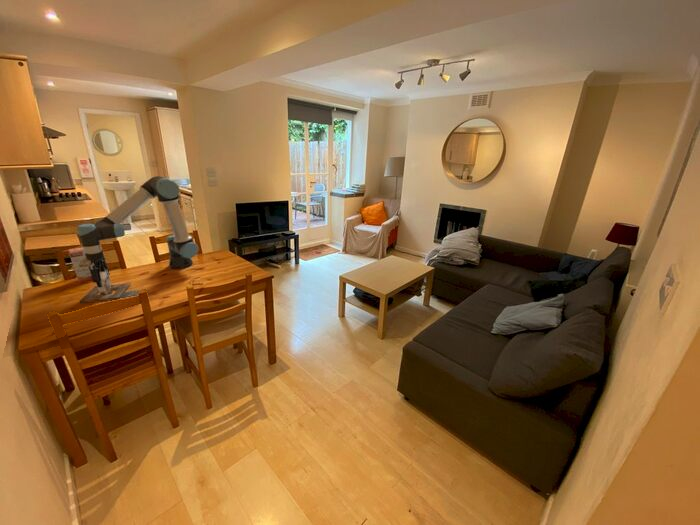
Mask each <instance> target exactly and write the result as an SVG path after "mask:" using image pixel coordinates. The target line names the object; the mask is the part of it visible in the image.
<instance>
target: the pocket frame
mask: <svg viewBox="0 0 700 525" xmlns="http://www.w3.org/2000/svg"><path fill="white" fill-rule="evenodd" d="M130 286H131V283H130V282H129V283H120V284H119V283H118V284H111V289H112V290H115V291H114V292H113V294H111V295H104V296H100V295H98V294H100V292H99V290H98V287H97V285H96V286H93V287H92V288H91V289H90V290H89V291H88V292H87V293H86V294H85V295H84V296H83V297H81V299H80V300H79V303H80V304H87V303H86V302H88V303H95V302H94V301H98V302H103V301H102V300H106V301H108V302H109V301H116V300H115V299H118V300H119V298H120V296H121V295H122V294H123V293H125V292H127V290H128V289H129V288H130ZM106 301H105V302H106Z"/></svg>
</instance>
